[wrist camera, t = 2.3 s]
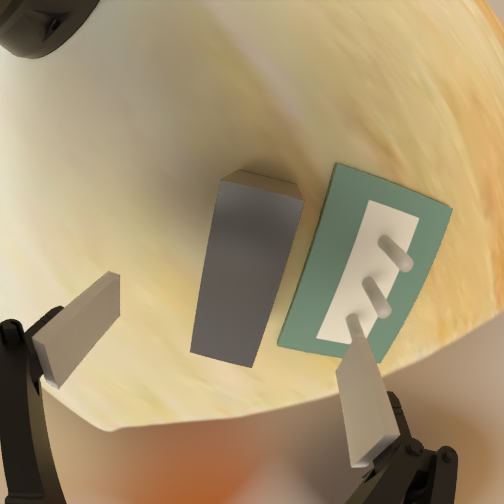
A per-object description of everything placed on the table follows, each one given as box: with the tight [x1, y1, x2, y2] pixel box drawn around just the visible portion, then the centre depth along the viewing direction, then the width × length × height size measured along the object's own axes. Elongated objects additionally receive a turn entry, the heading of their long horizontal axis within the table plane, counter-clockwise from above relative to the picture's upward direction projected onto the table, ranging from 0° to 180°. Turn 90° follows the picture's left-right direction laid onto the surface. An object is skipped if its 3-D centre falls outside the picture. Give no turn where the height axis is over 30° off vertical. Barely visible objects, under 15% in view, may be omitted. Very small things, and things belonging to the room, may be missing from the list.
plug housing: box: [190, 170, 305, 368], centre depth 21 cm, size 13×5×7 cm, turn 167°
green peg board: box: [277, 163, 453, 363], centre depth 22 cm, size 18×12×6 cm, turn 167°
